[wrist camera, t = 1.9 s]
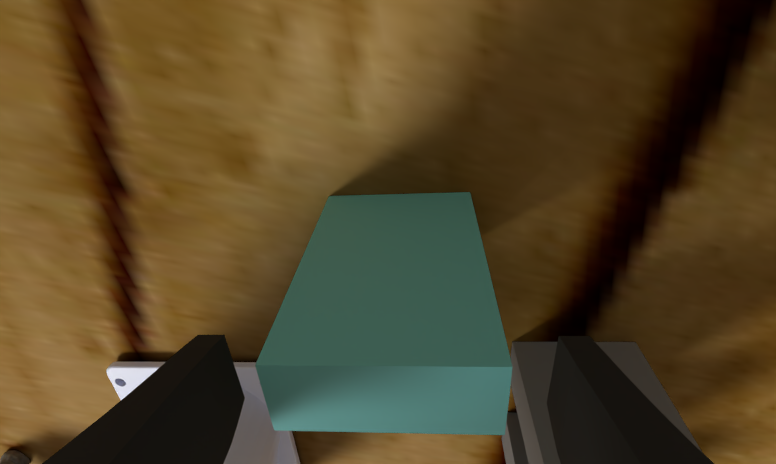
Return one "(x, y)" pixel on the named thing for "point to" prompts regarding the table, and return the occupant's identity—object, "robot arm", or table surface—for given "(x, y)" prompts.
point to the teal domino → (390, 323)
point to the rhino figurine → (14, 458)
